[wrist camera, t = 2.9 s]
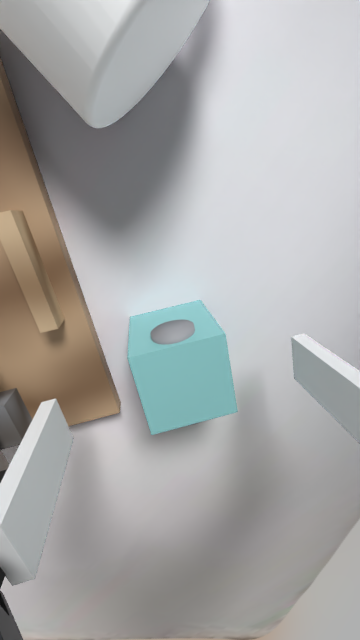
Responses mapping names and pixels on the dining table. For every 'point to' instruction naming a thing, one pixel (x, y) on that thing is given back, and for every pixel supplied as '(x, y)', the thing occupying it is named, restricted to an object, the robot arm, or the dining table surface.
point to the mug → (100, 47)
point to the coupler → (180, 366)
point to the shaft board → (40, 301)
